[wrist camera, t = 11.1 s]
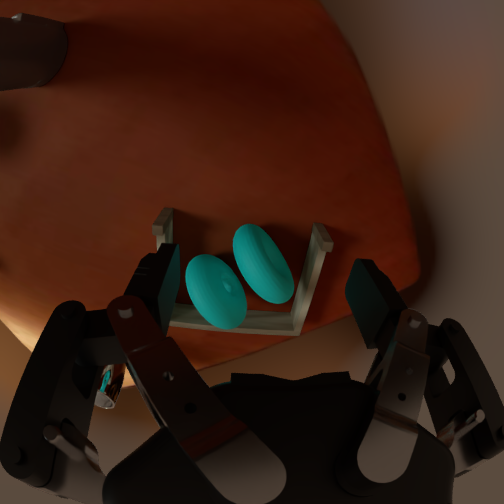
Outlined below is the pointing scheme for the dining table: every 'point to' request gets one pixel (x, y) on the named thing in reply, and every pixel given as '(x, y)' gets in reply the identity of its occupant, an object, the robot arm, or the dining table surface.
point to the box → (254, 319)
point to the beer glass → (110, 385)
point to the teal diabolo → (228, 285)
